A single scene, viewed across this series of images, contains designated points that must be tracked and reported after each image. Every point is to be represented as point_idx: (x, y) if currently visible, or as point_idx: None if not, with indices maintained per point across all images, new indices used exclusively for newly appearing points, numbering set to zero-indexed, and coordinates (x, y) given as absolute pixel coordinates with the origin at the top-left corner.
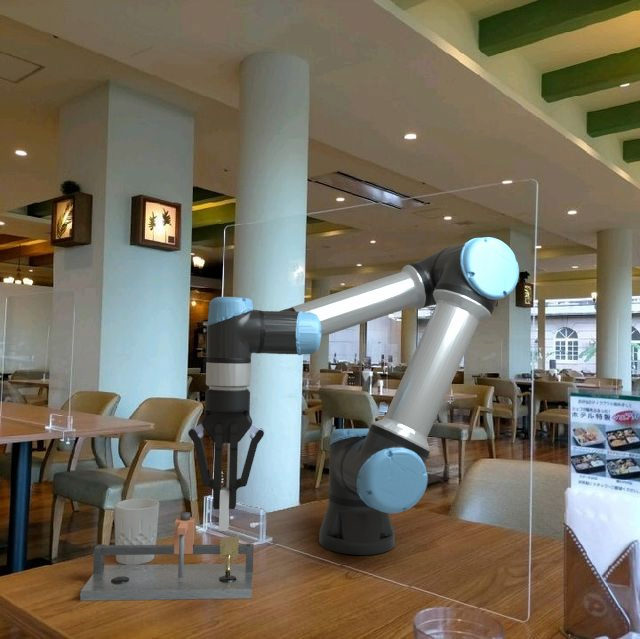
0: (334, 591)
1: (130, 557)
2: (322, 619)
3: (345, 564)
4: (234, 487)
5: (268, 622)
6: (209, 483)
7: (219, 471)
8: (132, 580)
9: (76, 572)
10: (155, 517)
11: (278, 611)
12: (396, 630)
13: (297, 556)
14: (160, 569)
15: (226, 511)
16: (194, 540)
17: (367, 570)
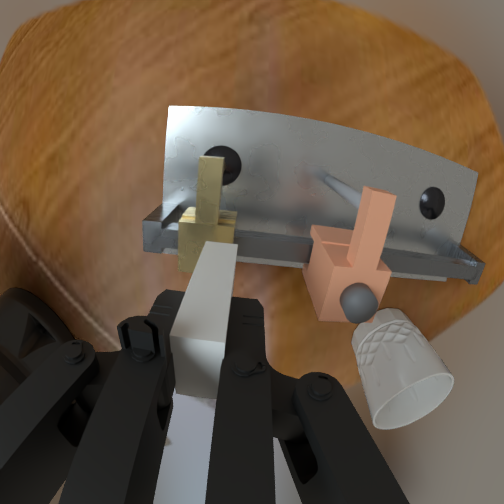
0: (42, 144)
1: (398, 315)
2: (78, 35)
3: (33, 260)
4: (132, 349)
5: (159, 13)
6: (297, 387)
7: (223, 458)
8: (415, 198)
9: (458, 284)
10: (381, 380)
11: (134, 52)
12: (18, 30)
13: (98, 308)
14: None
15: (201, 274)
16: (307, 275)
17: (10, 231)
